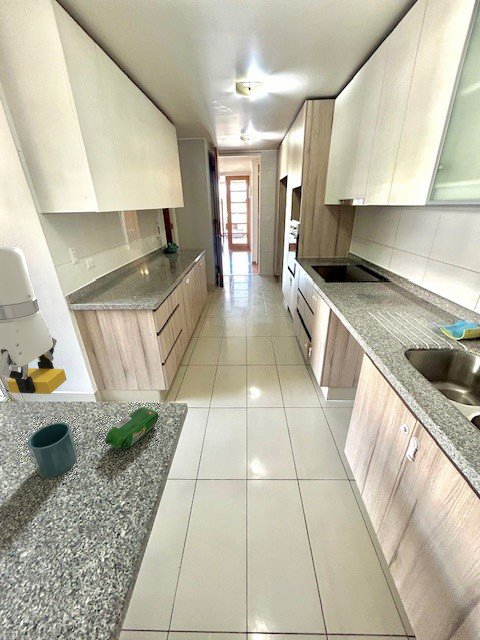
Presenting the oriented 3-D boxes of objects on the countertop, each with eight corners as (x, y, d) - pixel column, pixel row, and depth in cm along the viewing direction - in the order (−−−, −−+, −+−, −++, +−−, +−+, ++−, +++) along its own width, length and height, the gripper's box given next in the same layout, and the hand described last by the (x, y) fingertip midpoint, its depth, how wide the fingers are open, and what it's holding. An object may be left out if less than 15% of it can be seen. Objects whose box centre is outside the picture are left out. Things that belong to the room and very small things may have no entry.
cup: (29, 477, 61) (18, 448, 57) (54, 448, 68) (45, 421, 65) (63, 479, 60) (54, 450, 57) (84, 450, 68) (77, 423, 65)
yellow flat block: (10, 392, 57) (6, 381, 56) (30, 378, 62) (26, 368, 61) (50, 394, 57) (46, 382, 56) (66, 379, 62) (64, 368, 61)
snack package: (101, 450, 68) (97, 434, 66) (146, 413, 81) (144, 400, 79) (119, 461, 65) (116, 445, 63) (163, 421, 78) (162, 407, 76)
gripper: (30, 297, 61) (50, 364, 67) (-48, 324, 45) (-13, 409, 51) (61, 298, 61) (78, 365, 67) (-6, 325, 45) (24, 410, 51)
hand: (38, 383), depth 59 cm, fingers closed on yellow flat block, 5 cm apart
